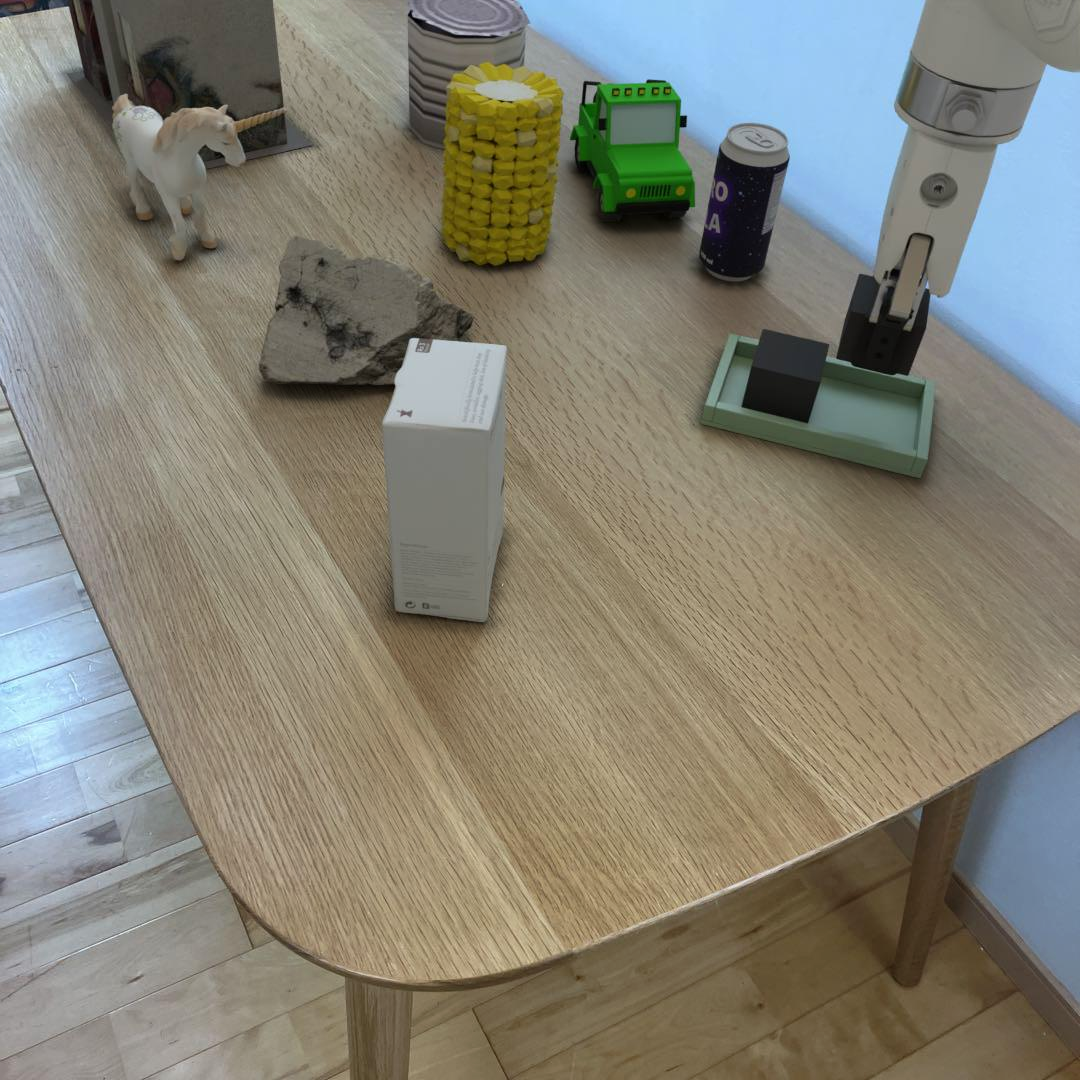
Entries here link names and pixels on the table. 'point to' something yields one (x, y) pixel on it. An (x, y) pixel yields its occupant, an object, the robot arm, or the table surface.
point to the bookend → (186, 63)
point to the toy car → (634, 149)
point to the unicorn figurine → (177, 158)
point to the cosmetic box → (446, 476)
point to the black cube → (862, 305)
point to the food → (500, 162)
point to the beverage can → (744, 200)
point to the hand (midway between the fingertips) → (878, 343)
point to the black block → (785, 375)
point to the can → (456, 52)
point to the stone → (350, 317)
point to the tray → (833, 412)
